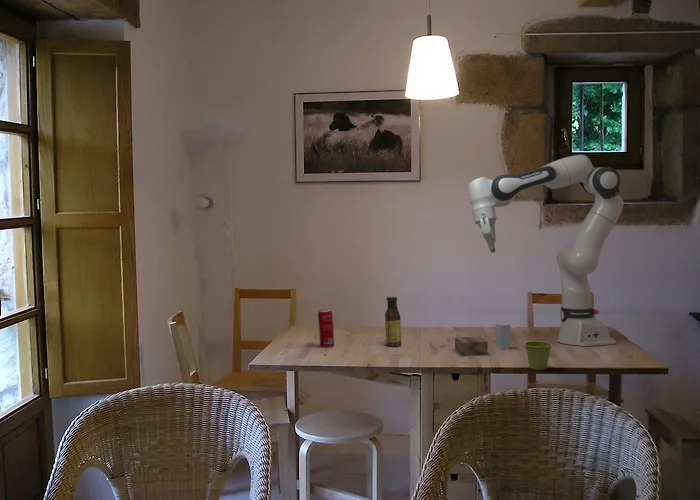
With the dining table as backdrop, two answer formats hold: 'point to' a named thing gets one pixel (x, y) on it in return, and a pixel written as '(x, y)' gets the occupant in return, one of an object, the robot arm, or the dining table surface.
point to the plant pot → (538, 354)
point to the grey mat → (472, 355)
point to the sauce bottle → (392, 323)
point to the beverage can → (326, 328)
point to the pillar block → (502, 336)
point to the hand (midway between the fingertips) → (492, 250)
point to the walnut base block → (471, 346)
